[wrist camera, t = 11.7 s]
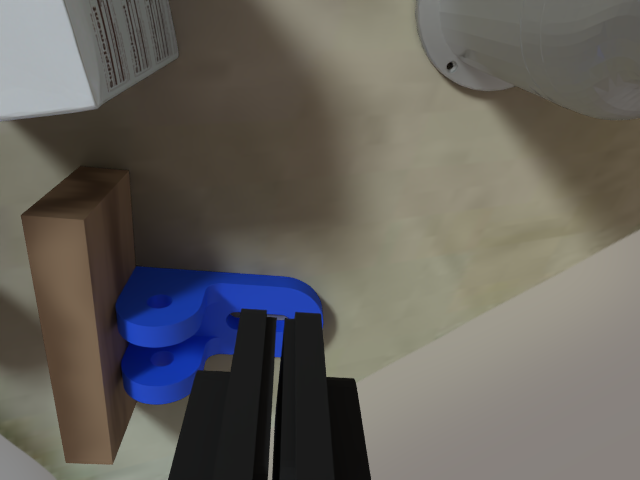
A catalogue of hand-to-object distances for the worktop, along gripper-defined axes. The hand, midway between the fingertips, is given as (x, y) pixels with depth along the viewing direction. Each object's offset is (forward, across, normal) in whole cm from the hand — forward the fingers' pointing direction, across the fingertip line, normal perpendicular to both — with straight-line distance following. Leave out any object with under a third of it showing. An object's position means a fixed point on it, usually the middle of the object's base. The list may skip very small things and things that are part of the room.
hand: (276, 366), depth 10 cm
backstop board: (+32, +15, +20) cm, 41 cm away
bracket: (+32, +4, +22) cm, 39 cm away
